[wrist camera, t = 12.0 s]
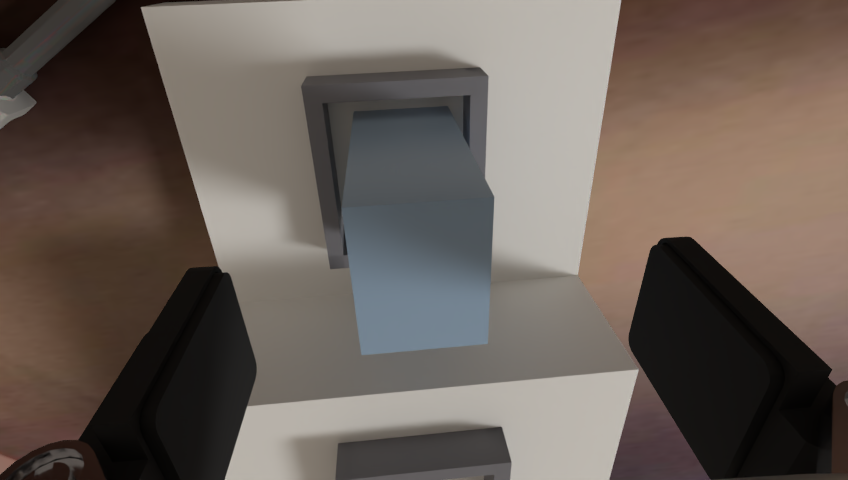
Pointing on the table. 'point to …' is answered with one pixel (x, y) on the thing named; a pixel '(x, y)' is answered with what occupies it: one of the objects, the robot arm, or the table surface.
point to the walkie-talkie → (40, 51)
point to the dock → (326, 244)
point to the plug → (416, 232)
